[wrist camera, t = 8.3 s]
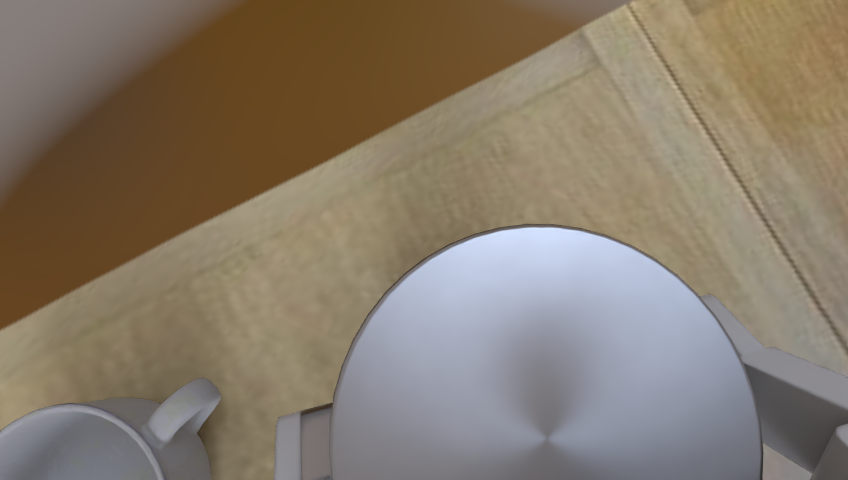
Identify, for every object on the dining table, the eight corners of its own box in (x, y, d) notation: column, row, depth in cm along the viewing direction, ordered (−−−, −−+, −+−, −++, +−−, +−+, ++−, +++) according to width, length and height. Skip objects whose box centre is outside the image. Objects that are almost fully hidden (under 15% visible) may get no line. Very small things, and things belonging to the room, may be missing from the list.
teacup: (109, 606, 32) (7, 701, 24) (23, 450, 33) (-102, 492, 25) (305, 467, 33) (269, 514, 25) (214, 323, 34) (154, 324, 26)
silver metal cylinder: (579, 262, 16) (731, 210, 8) (602, 483, 15) (799, 664, 7) (369, 275, 16) (319, 236, 8) (380, 498, 15) (336, 698, 7)
